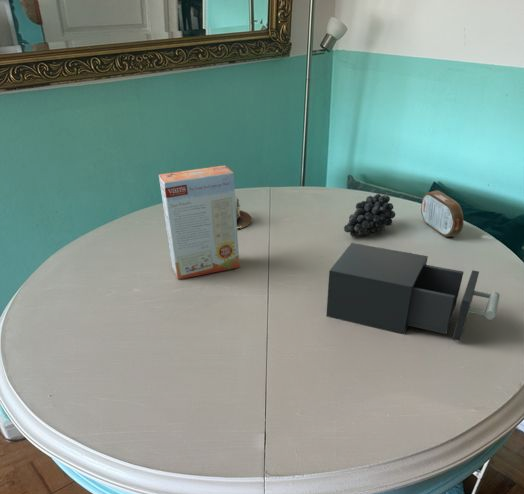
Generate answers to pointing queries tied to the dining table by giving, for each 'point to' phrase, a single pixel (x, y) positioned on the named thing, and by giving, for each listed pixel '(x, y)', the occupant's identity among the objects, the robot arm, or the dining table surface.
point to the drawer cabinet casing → (373, 286)
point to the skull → (241, 215)
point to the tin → (442, 213)
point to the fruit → (370, 215)
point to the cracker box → (200, 220)
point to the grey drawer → (445, 300)
